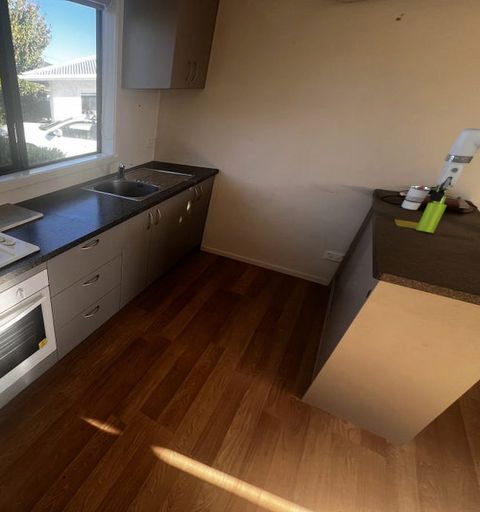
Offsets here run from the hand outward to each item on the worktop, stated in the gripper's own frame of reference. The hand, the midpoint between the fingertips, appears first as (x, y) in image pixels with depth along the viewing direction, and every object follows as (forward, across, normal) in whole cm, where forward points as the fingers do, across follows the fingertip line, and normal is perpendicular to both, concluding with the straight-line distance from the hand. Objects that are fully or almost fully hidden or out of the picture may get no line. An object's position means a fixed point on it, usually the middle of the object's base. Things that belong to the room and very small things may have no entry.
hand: (434, 199), depth 135 cm
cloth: (+15, +5, +2) cm, 16 cm away
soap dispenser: (+14, -4, -2) cm, 15 cm away
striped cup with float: (+15, +40, +2) cm, 43 cm away
